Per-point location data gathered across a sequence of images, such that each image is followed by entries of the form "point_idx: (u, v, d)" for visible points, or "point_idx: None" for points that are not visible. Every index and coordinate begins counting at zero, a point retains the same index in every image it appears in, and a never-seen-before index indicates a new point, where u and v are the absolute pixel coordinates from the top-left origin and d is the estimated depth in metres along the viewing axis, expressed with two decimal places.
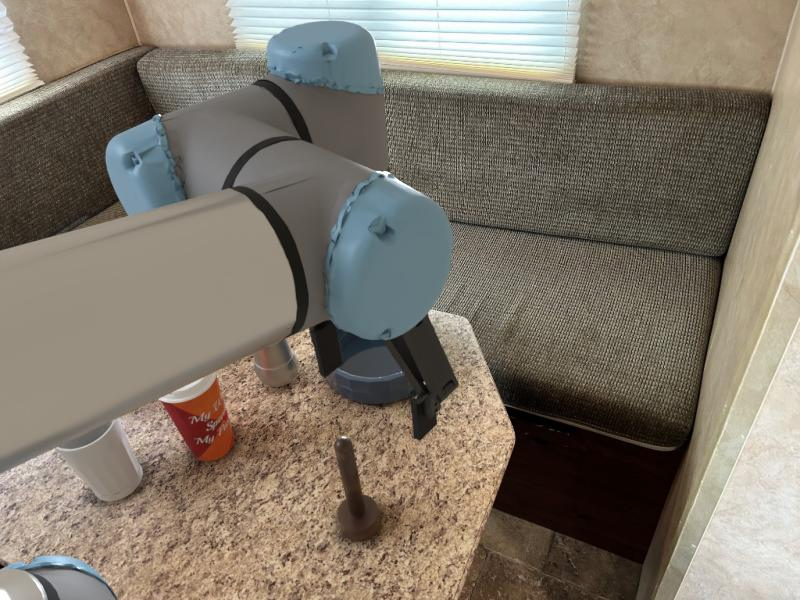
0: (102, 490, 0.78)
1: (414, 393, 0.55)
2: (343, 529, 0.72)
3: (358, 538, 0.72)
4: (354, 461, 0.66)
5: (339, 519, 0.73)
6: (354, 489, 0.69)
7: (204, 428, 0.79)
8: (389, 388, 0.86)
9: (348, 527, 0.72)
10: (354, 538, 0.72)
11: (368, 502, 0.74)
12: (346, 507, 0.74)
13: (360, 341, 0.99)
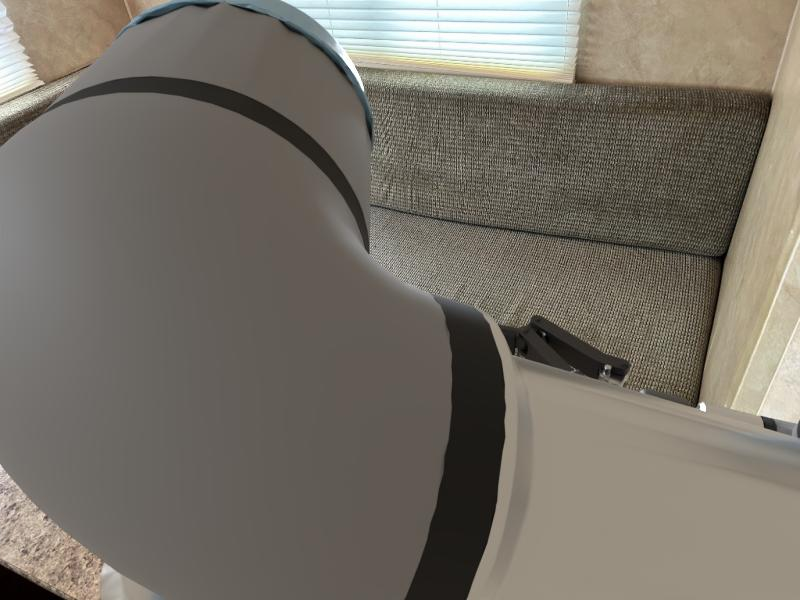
0: None
1: None
2: None
3: None
4: None
5: None
6: None
7: None
8: None
9: None
10: None
11: None
12: None
13: None
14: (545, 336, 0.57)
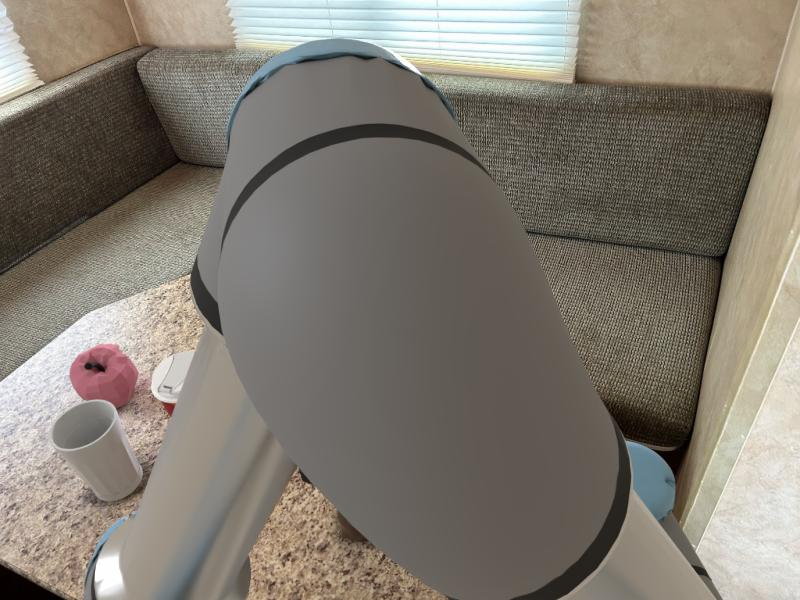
0: (102, 490, 0.78)
1: None
2: (343, 529, 0.72)
3: (358, 538, 0.72)
4: None
5: (339, 519, 0.73)
6: None
7: None
8: None
9: (348, 527, 0.72)
10: (354, 538, 0.72)
11: None
12: None
13: None
14: None
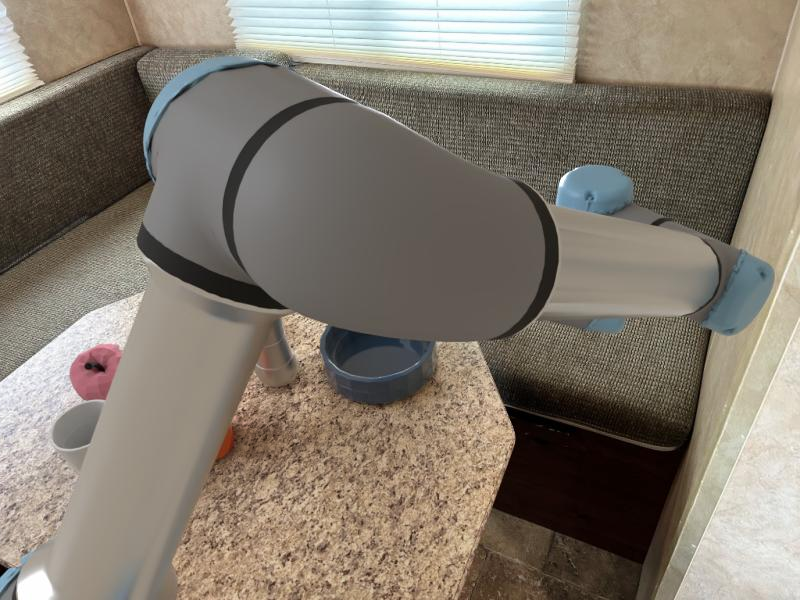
0: None
1: None
2: None
3: None
4: None
5: None
6: None
7: None
8: (389, 388, 0.86)
9: None
10: None
11: None
12: None
13: (360, 341, 0.99)
14: None
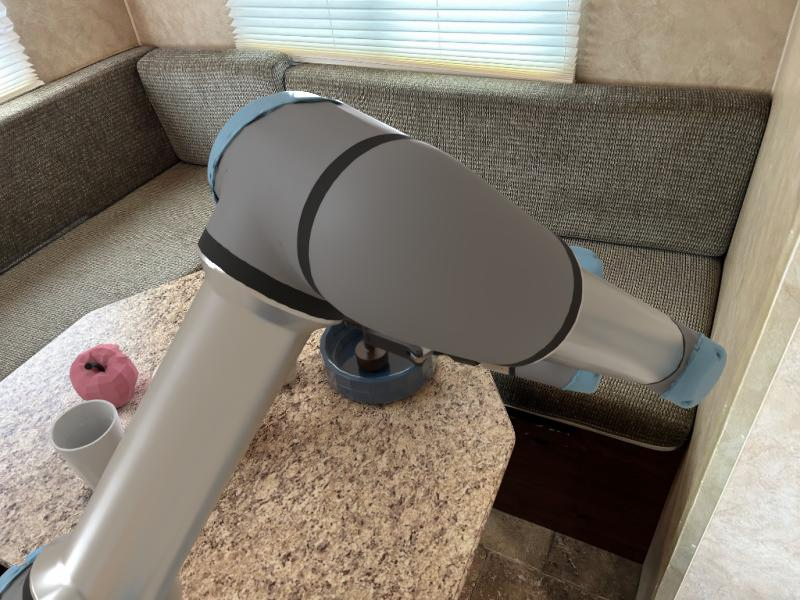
0: None
1: None
2: (360, 360, 0.92)
3: (372, 367, 0.92)
4: None
5: (356, 353, 0.92)
6: None
7: None
8: (389, 388, 0.86)
9: (364, 358, 0.91)
10: (368, 367, 0.92)
11: None
12: (362, 345, 0.93)
13: None
14: None
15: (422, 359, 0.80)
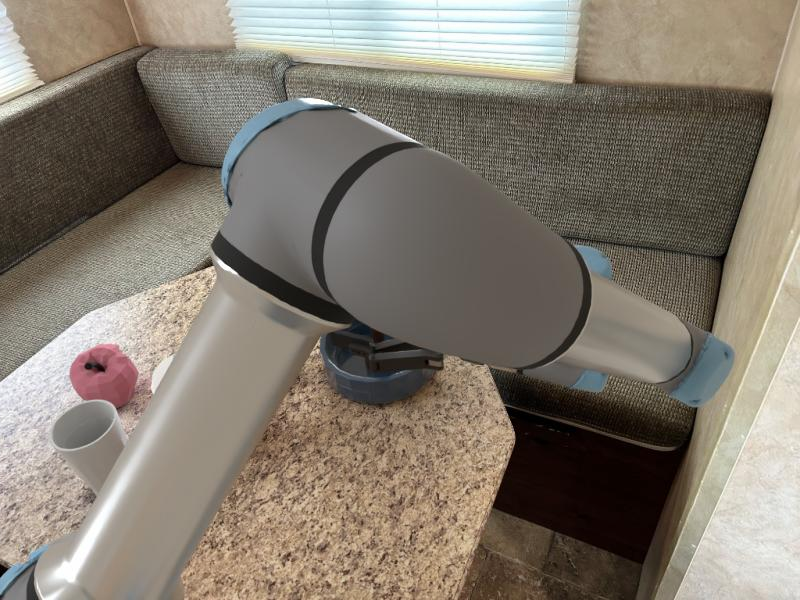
0: None
1: (372, 341, 0.82)
2: (368, 361, 0.93)
3: None
4: None
5: None
6: None
7: None
8: (389, 388, 0.86)
9: None
10: None
11: None
12: None
13: None
14: None
15: (443, 361, 0.80)
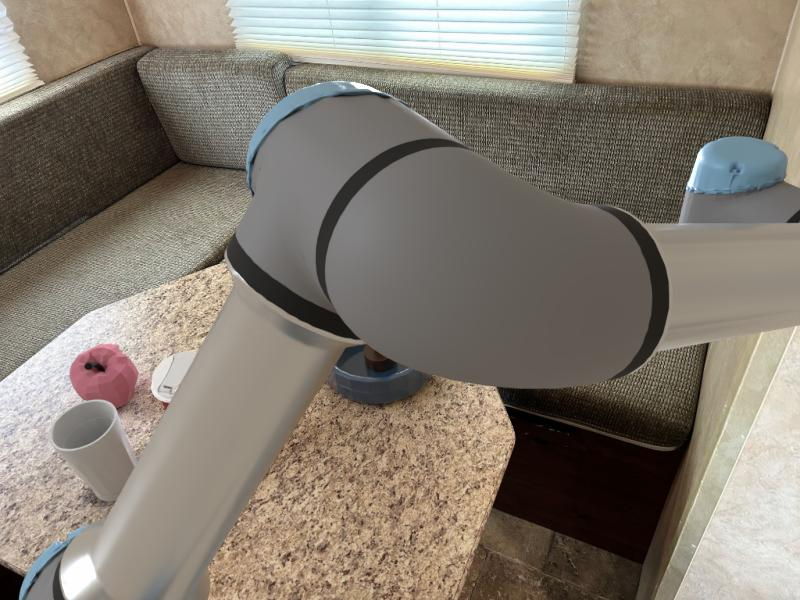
0: (102, 490, 0.78)
1: None
2: (368, 361, 0.93)
3: (380, 368, 0.93)
4: None
5: (365, 354, 0.93)
6: None
7: None
8: (389, 388, 0.86)
9: (372, 359, 0.92)
10: (377, 368, 0.93)
11: None
12: None
13: None
14: None
15: None
